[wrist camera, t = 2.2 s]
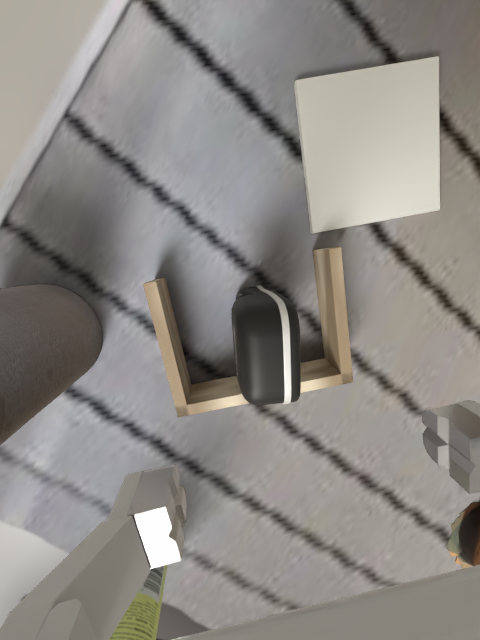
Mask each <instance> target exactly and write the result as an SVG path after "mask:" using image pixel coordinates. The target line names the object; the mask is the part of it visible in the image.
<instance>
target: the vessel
mask: <svg viewBox="0 0 480 640" xmlns="http://www.w3.org/2000/svg"><path fill="white" fill-rule="evenodd" d="M460 515H461V517H459V518H457V519H456V520H455V523H453V524H451V527H452V534H451V536H450V539H449V541H448V545H447V549H448V551H449V552H450V555H451V556H457V559H456V563H458V564H461V566H462V568H463V569H464V568H468V567H472V566H476V565H480V503H471V504H470V506H469V507H468V508H467V509H466V510H464V511H463V512H462V513H460Z"/></svg>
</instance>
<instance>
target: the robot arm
mask: <svg viewBox="0 0 480 640" xmlns="http://www.w3.org/2000/svg"><path fill="white" fill-rule="evenodd" d="M422 423H423V424H424V425H425V426H426V427H427V428H426V429H425V431H424V433H423V444H424V446H425V449H426V451H427V453H428V454H429V456H430V457H431V458H432V459H433V460H434V461H435V462H436V463H437V464H438V465H440V466H442V467H445V468H447V469H449V473H450V476H451V477H452V478H453V479H454V480H455V481H456V482H457V483H458V484H459V485H460V486H462V487H463V488H464V489H465V490H466V491H467V492H468V493H469V494H471V493H476V492H480V404H479V403H477V402H475V401H470V400H467V401H463V402H459V403H455V404H453V405H448V406H444V407H439V408H435V409H430V410H426V411H424V412H423V414H422ZM179 480H180V473H179V469H178V466H177V465H171V466H165V467H160V468H155V469H150V470H145V471H140V472H135V473H131V474H128V475H127V476H126V477H125V479H124V481H123V484H122V486H121V489H120V491H119V493H118V496H117V498H116V501H115V503H114V505H113V508H112V510H111V513H110V515H109V517H108V520H107V521H105V522H102V523H100V524H99V525H98V526H97V527H96V528H95V529H94V530H93V531H92V532H91V533H90V534H89V535H88V536H87V537H86V538H85V539H84V540H83V541H82V542H81V543H80V544H79V545H78V546H77V547H76V548H75V549H74V550H73V551H72V552H71V553H70V554H69V555H68V556H67V557H66V558H65V559H64V560H63V561H62V562H61V563H60V564H59V565H58V566H57V567H56V568H55V569H54V570H53V571H52V572H51V573H50V574H49V575H48V576H47V577H46V578H45V579H44V580H43V581H41V582H40V583H39V585H37V587H35V588H34V590H32V591H31V592H30V593H29V594H28V595H27V596H26V597H25V598H24V599H23V600H22V601H21V602H20V603H19V604H18V605H17V606H16V607H15V608H14V609H13V610H12V611H11V612H10V614H9V615H8V617H7V619H6V620H5V622H4V624H3V626H2V627H1V629H0V640H109V639H110V638H111V636H112V634H113V633H114V631H115V629H116V628H117V626H118V624H119V623H120V621H121V619H122V618H123V616H124V614H125V613H126V611H127V609H128V608H129V606H130V604H131V603H132V601H133V600H134V598H135V596H136V595H137V593H138V591H139V590H140V588H141V586H142V585H143V583H144V581H145V580H146V578H147V576H148V575H149V573H150V571H151V570H150V569H152V568H156V567H159V566H163V565H167V564H171V563H174V562H178V561H181V560H182V551H183V543H184V534H183V530H182V527H183V525H184V524H185V522H186V516H187V502H186V495H185V491H184V487H183V486H182V485H180V484H179ZM173 640H480V565H476V566H472V567H468V568H464V569H460V570H456V571H452V572H448V573H444V574H440V575H435V576H431V577H427V578H423V579H419V580H415V581H411V582H407V583H403V584H398V585H394V586H390V587H386V588H382V589H378V590H374V591H370V592H366V593H361V594H357V595H353V596H349V597H345V598H341V599H337V600H333V601H328V602H324V603H320V604H316V605H312V606H308V607H304V608H300V609H296V610H292V611H287V612H283V613H279V614H275V615H271V616H267V617H263V618H259V619H255V620H251V621H246V622H242V623H238V624H234V625H230V626H226V627H222V628H218V629H214V630H210V631H205V632H201V633H197V634H193V635H190V636H185V637H181V638H177V639H173Z"/></svg>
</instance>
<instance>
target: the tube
mask: <svg viewBox="0 0 480 640" xmlns="http://www.w3.org/2000/svg"><path fill="white" fill-rule="evenodd" d="M150 570H151V571H150V573H149V575H148V576H147V578H146V580H145V581H144V583H143V585H142V586H141V588H140V590H139V591H138V593H137V595H136V596H135V598H134V600H133V601H132V603H131V604H130V606H129V608H128V609H127V611H126V613H125V614H124V616H123V618H122V619H121V621H120V623H119V624H118V626H117V628H116V629H115V631H114V633H113V634H112V636H111V638H110V639H109V640H156V636H157V629H158V622H159V615H160V609H161V602H162V596H163V589H164V583H165V576H166V570H167V565H163V566H159V567H156V568H152V569H150Z"/></svg>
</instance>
